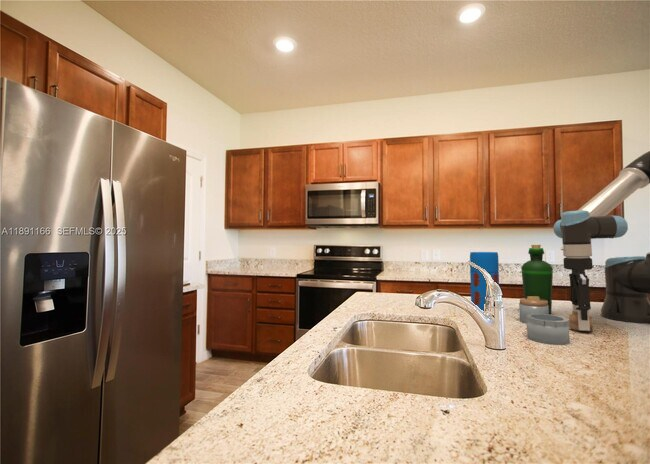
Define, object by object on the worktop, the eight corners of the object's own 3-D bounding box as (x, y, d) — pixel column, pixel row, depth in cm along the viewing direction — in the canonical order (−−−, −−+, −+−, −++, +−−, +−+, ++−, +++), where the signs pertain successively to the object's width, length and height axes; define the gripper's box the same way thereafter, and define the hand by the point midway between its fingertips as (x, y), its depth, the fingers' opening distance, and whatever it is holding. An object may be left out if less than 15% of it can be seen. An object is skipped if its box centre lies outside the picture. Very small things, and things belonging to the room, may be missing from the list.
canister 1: (540, 319, 121) (539, 294, 121) (554, 325, 112) (553, 299, 112) (515, 318, 122) (514, 294, 122) (527, 324, 113) (526, 298, 113)
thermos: (488, 315, 128) (486, 253, 128) (465, 310, 137) (464, 252, 138) (505, 312, 133) (503, 252, 133) (482, 307, 142) (480, 251, 143)
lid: (589, 327, 107) (588, 310, 107) (595, 331, 101) (594, 314, 102) (567, 325, 110) (566, 309, 110) (571, 329, 104) (570, 313, 104)
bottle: (553, 313, 130) (551, 244, 131) (555, 319, 121) (553, 245, 122) (522, 310, 136) (520, 244, 136) (522, 315, 127) (520, 245, 127)
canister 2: (565, 336, 99) (564, 315, 100) (573, 346, 90) (572, 323, 90) (525, 332, 104) (524, 312, 104) (529, 341, 95) (528, 319, 95)
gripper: (557, 255, 116) (561, 319, 116) (570, 259, 99) (574, 334, 99) (583, 255, 113) (587, 321, 112) (600, 259, 96) (605, 336, 95)
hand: (581, 327), depth 105 cm, fingers closed on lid, 6 cm apart
